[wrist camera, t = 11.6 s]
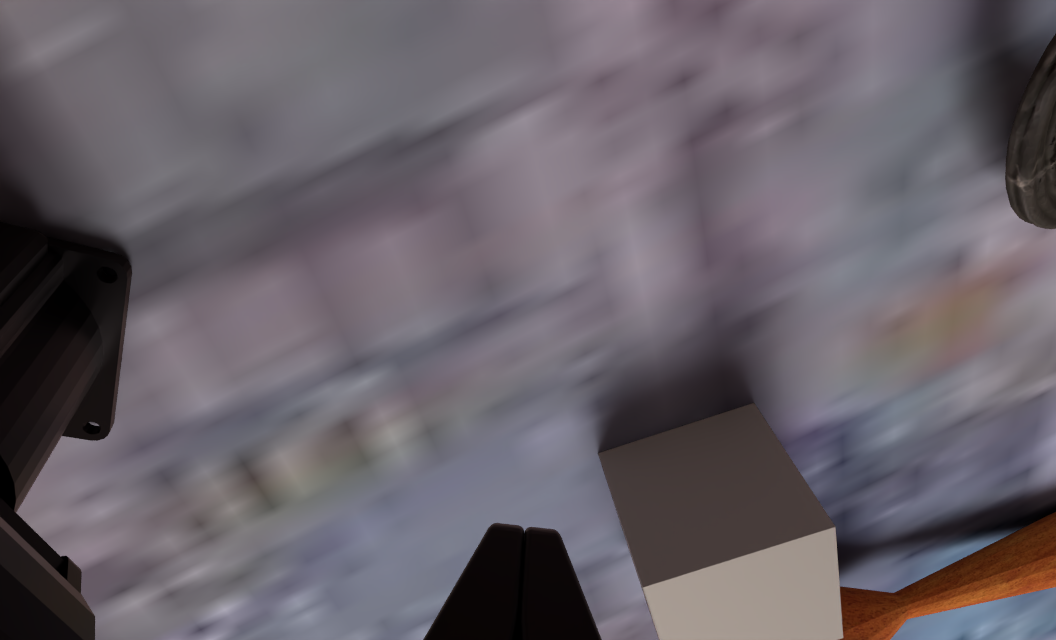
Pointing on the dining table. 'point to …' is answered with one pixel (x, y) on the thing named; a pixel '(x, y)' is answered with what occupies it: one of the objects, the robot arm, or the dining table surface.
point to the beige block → (726, 533)
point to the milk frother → (1035, 147)
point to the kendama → (958, 583)
